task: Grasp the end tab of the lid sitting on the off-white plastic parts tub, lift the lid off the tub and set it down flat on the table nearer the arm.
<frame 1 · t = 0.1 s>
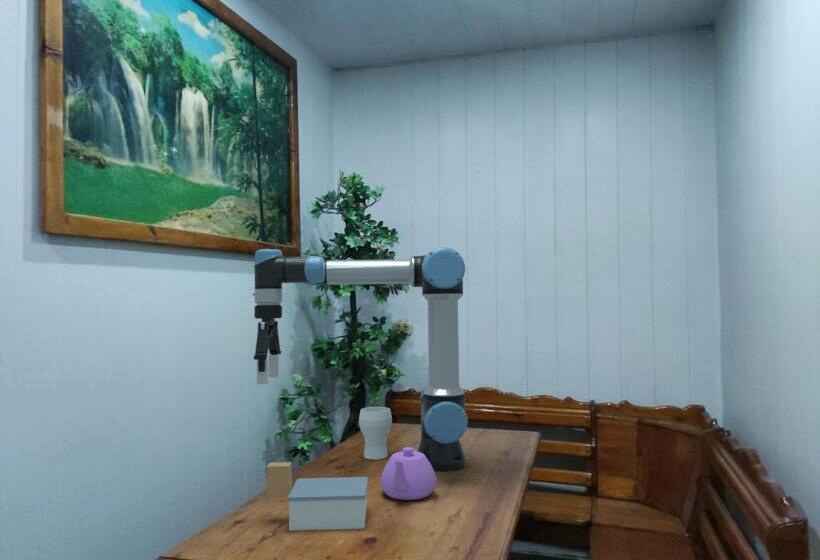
hand: (268, 380, 149), 28 cm above the table, fingers open, 13 cm apart
tub: (329, 521, 120), on the table
lid: (329, 490, 121), point 7 cm above the table, touching tub
cup: (375, 457, 173), on the table
slug a: (348, 514, 122), point 1 cm above the table, touching tub
teapot: (407, 498, 135), on the table
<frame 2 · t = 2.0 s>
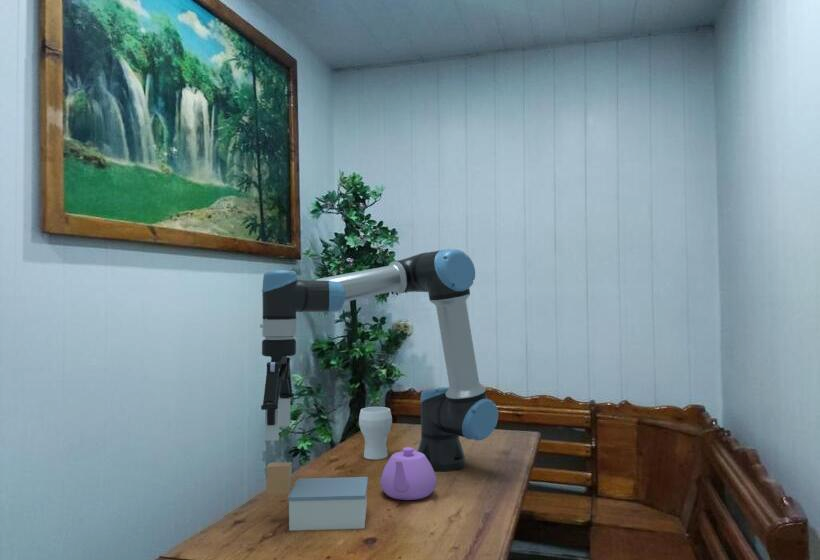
hand: (278, 432, 121), 20 cm above the table, fingers open, 13 cm apart
nothing on the table moved.
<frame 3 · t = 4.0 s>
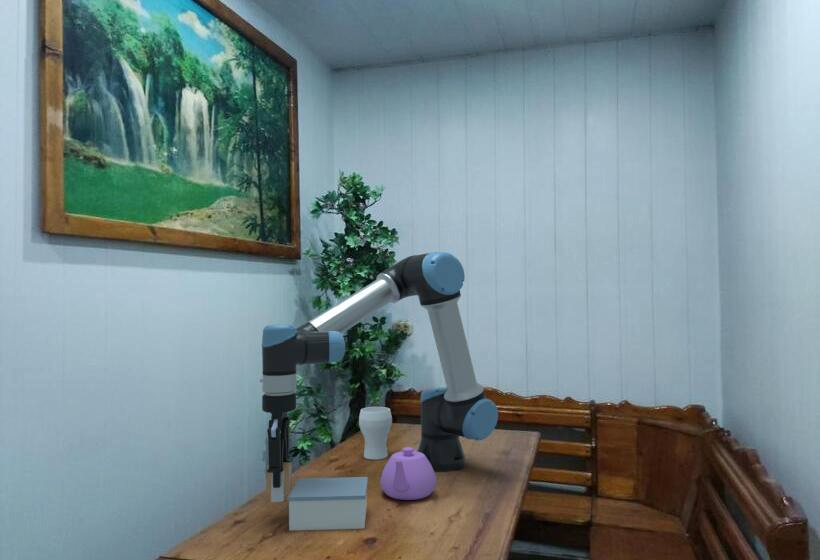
hand: (279, 498, 120), 6 cm above the table, fingers closed on lid, 3 cm apart
lid: (329, 490, 121), point 7 cm above the table, touching gripper, tub
everything else where it was.
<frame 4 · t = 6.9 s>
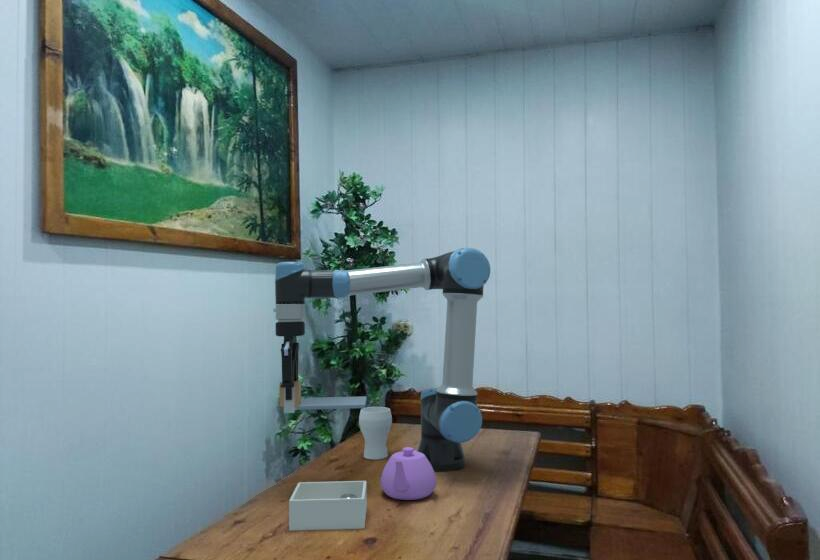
hand: (290, 410, 139), 21 cm above the table, fingers closed on lid, 3 cm apart
lid: (333, 404, 140), point 23 cm above the table, touching gripper
everything else where it was.
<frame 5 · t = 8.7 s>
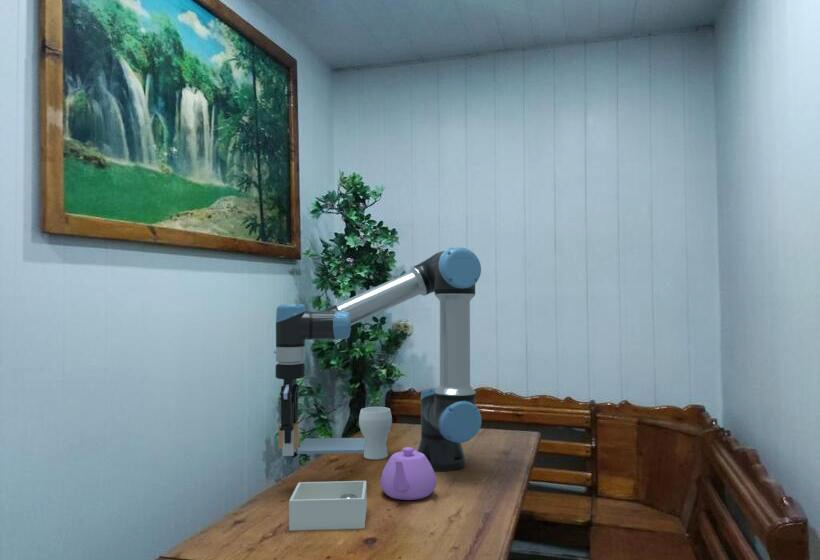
hand: (289, 453, 139), 10 cm above the table, fingers closed on lid, 3 cm apart
lid: (332, 447, 140), point 12 cm above the table, touching gripper
everything else where it was.
when the fingers open (2 cm above the table, at t = 10.2 s): lid drops 3 cm, on the table.
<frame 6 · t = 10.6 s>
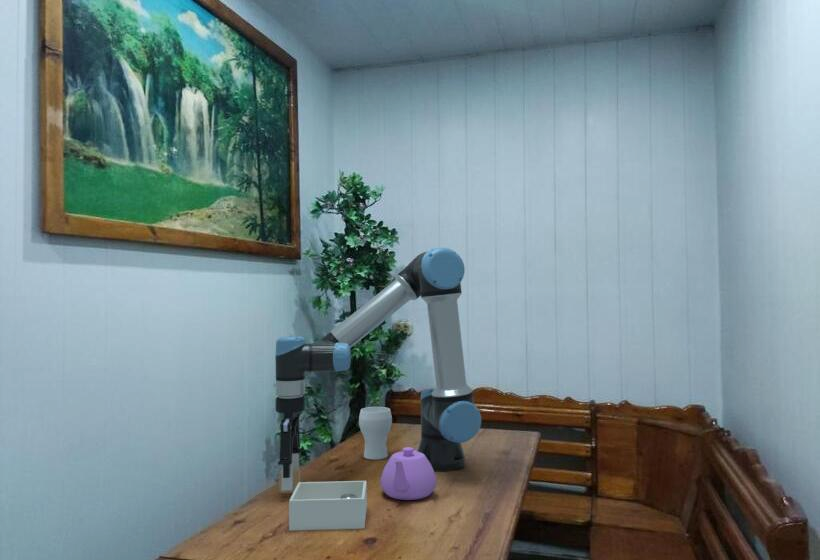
hand: (290, 483, 139), 3 cm above the table, fingers open, 8 cm apart
lid: (333, 493, 139), on the table
everything else where it was.
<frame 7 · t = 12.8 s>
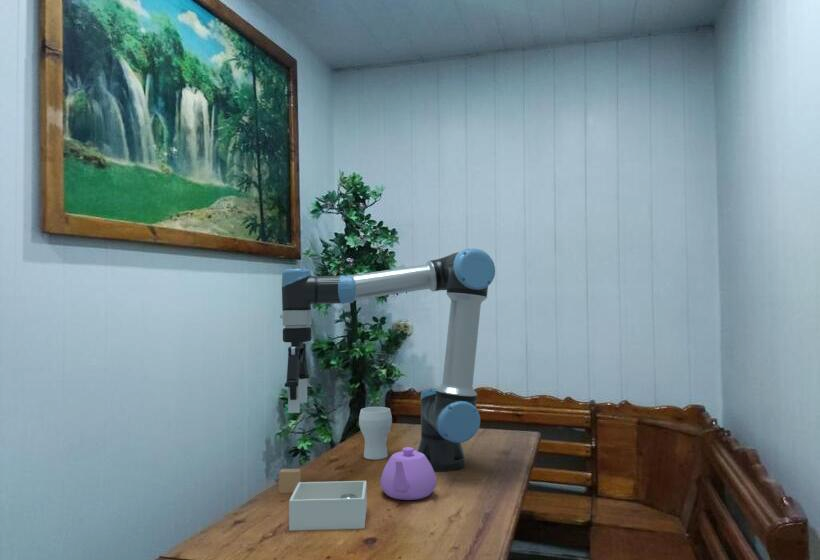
hand: (298, 407, 141), 22 cm above the table, fingers open, 13 cm apart
nothing on the table moved.
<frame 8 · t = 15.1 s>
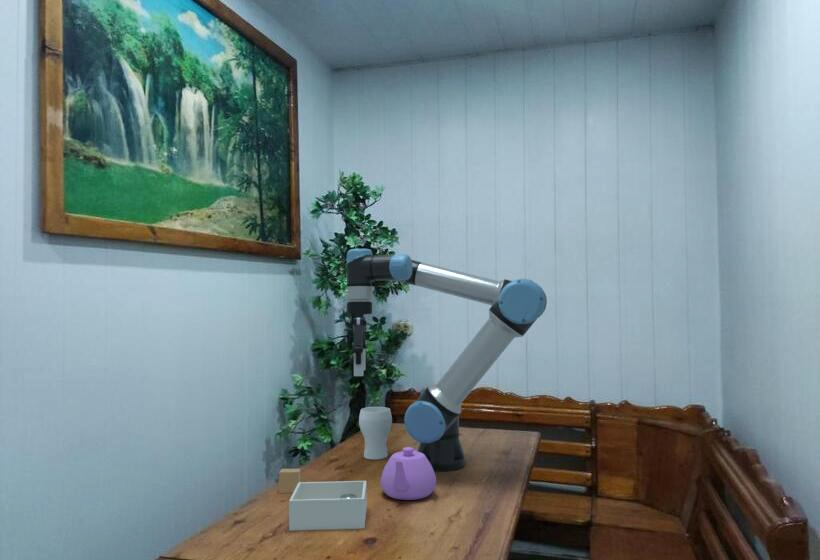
hand: (360, 373, 158), 29 cm above the table, fingers open, 13 cm apart
nothing on the table moved.
at the end: lid inside the target area (0.5 cm from its centre), on the table; lid moved 20.4 cm from its start; the gripper is holding nothing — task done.
